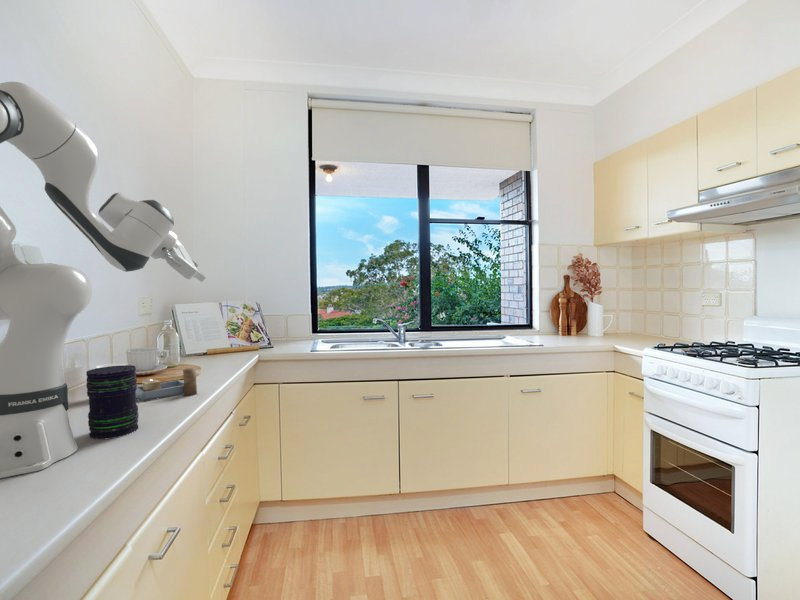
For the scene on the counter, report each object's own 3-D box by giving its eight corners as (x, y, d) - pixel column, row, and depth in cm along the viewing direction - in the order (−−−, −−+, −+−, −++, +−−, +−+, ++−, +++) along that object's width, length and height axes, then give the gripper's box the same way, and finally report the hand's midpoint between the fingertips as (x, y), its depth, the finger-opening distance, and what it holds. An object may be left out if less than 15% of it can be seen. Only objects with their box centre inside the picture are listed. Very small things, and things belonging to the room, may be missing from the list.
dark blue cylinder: (79, 441, 96) (76, 374, 95) (101, 427, 105) (98, 366, 105) (129, 437, 98) (125, 371, 97) (145, 423, 107) (143, 364, 107)
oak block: (146, 397, 131) (146, 383, 130) (143, 394, 133) (142, 382, 133) (161, 394, 133) (160, 381, 133) (157, 392, 136) (156, 379, 136)
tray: (142, 401, 129) (142, 392, 129) (133, 395, 136) (133, 387, 136) (190, 392, 138) (190, 384, 138) (179, 387, 146) (179, 379, 146)
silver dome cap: (144, 394, 134) (143, 381, 134) (141, 392, 136) (141, 380, 136) (155, 392, 136) (154, 379, 136) (152, 390, 139) (151, 378, 138)
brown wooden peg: (186, 396, 133) (185, 370, 133) (182, 394, 136) (181, 369, 136) (198, 394, 136) (197, 369, 136) (194, 392, 139) (193, 367, 138)
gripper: (176, 248, 111) (216, 279, 121) (162, 223, 125) (199, 253, 135) (157, 265, 110) (199, 295, 120) (146, 238, 125) (184, 267, 134)
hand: (199, 272), depth 128 cm, fingers open, 8 cm apart
